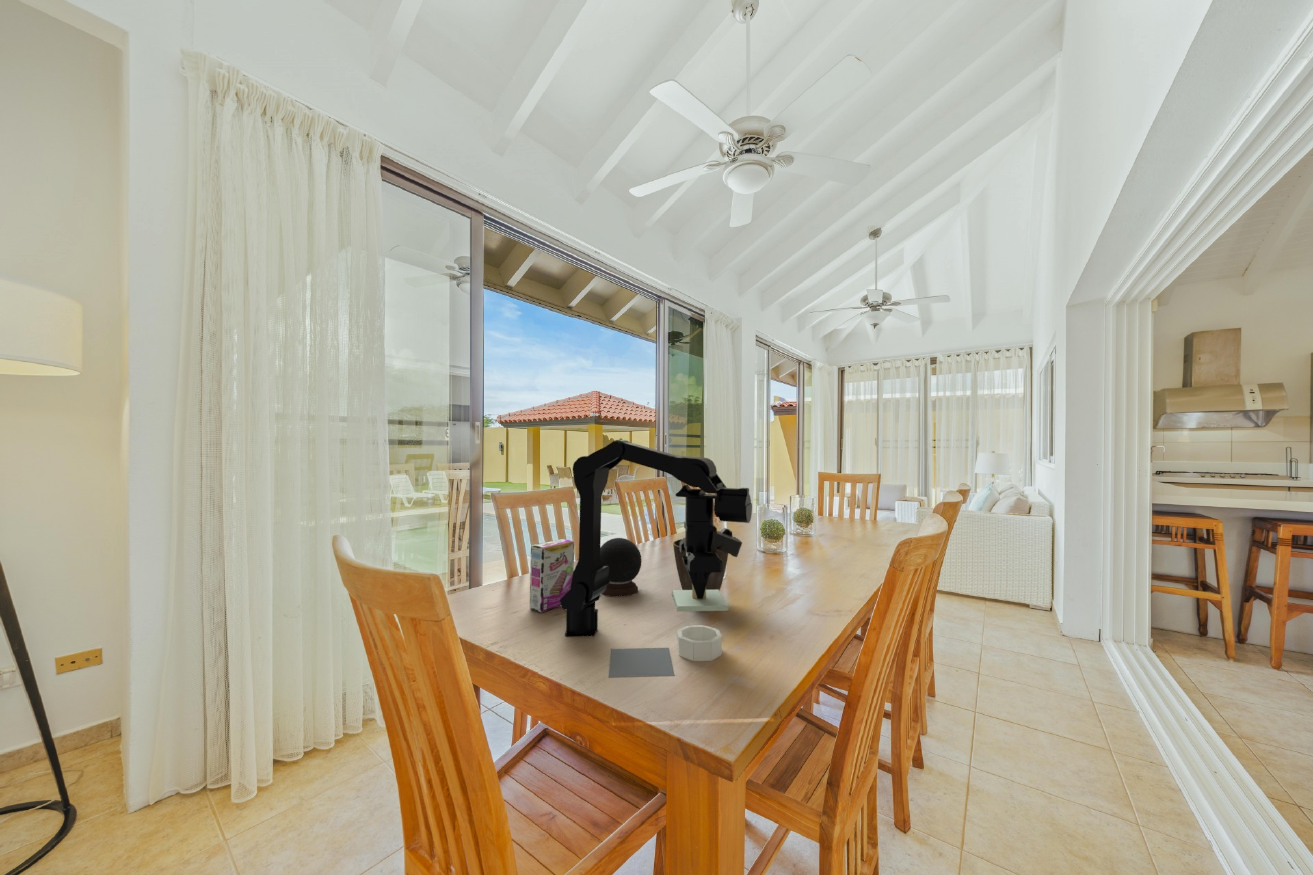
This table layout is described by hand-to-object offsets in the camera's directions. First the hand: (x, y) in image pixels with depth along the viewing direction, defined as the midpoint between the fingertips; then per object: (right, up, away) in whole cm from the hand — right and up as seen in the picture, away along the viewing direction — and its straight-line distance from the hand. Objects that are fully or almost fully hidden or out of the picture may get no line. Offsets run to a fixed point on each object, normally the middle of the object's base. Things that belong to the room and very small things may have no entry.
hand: (699, 595), depth 100 cm
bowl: (0, -12, 0) cm, 12 cm away
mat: (-12, -12, -5) cm, 17 cm away
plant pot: (+3, -12, +30) cm, 33 cm away
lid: (0, -1, 0) cm, 1 cm away
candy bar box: (-36, -12, +28) cm, 47 cm away
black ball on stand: (-20, -12, +41) cm, 47 cm away
